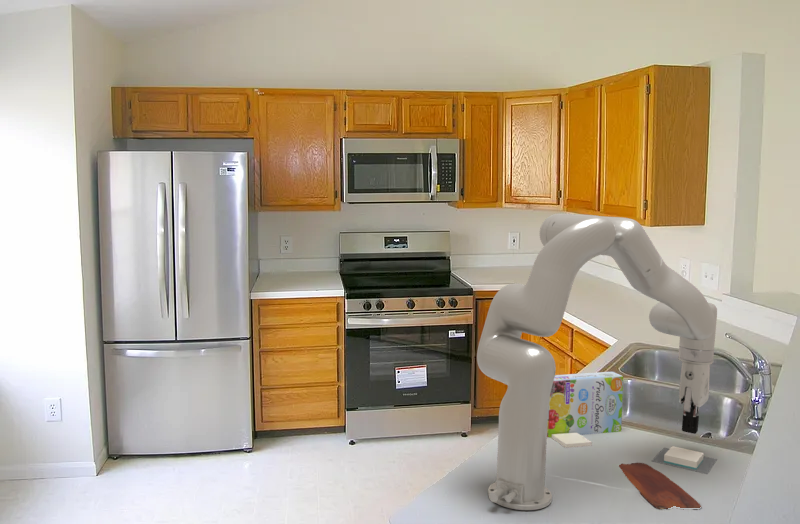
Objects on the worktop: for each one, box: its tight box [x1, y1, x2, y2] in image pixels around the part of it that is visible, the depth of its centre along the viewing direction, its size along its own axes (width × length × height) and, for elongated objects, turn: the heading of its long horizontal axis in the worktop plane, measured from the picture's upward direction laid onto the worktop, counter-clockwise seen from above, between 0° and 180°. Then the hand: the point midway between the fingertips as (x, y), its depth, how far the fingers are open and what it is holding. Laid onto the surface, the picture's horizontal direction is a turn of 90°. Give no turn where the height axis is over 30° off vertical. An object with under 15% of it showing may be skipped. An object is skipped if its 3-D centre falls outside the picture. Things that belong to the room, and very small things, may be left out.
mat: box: [651, 447, 718, 475], centre depth 164 cm, size 11×12×1 cm
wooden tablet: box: [618, 462, 702, 510], centre depth 152 cm, size 27×10×2 cm, turn 5°
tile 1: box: [551, 432, 593, 449], centre depth 174 cm, size 7×7×2 cm
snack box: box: [547, 371, 624, 438], centre depth 181 cm, size 21×6×15 cm, turn 107°
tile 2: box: [664, 445, 705, 470], centre depth 163 cm, size 2×7×7 cm
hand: (689, 431), depth 167 cm, fingers closed
